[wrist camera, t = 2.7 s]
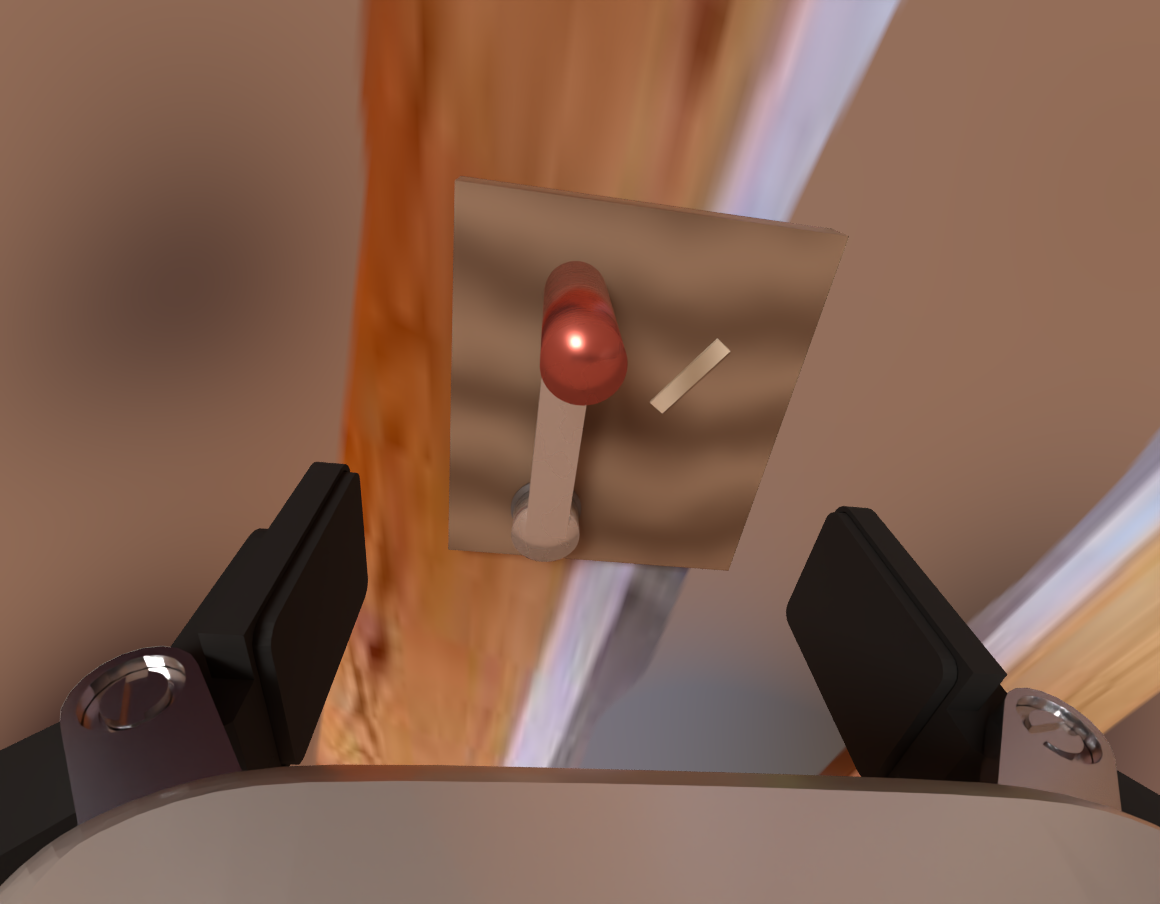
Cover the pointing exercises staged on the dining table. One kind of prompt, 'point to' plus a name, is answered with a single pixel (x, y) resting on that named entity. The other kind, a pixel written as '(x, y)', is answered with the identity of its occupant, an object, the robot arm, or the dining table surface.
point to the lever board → (630, 365)
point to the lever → (566, 404)
